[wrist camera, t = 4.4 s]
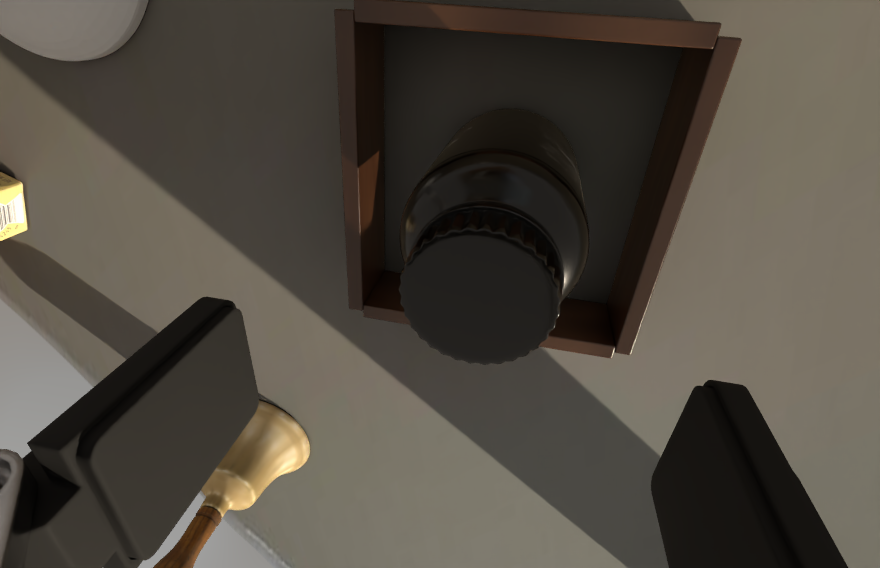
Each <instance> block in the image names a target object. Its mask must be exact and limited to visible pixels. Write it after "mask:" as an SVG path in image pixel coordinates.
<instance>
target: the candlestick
mask: <svg viewBox="0 0 880 568" xmlns="http://www.w3.org/2000/svg"><path fill="white" fill-rule="evenodd" d="M147 4H148V0H0V34H1V35H2V36H4V37H5V38H7V39H8V40H10V41H11V42H13V43H15V44H16V45H18V46H20V47H22V48H24V49H26V50H28V51H31V52H33V53H35V54H38V55H41V56H44V57H48V58H52V59H57V60H63V61H84V60H93V59H97V58H101V57H104V56H107V55H109V54H111V53H113V52H115V51H116V50H118V49H119V48H120V47H122V46H123V45H124V44H125V43H126V42H127V41H128V40H129V39H130V38H131V36H132V35H133V34H134V32H135V31H136V29H137V28H138V26H139V24H140V22H141V20H142V18H143V16H144V13H145V10H146V7H147Z"/></svg>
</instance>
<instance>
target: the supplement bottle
mask: <svg viewBox="0 0 880 568" xmlns="http://www.w3.org/2000/svg"><path fill="white" fill-rule="evenodd" d="M400 247H401V253H402V257H403V261H404V264H405V267H404V268H403V270H402V272H401V275H400V278H401V284H400V286H399V292H400V294H401V296H402V297H401V302H400V303H401V305H402V306H403V308H404V314H405V317H406V318H407V319H408V320H409V321H410V325H411V327H412V328H413V329H414V330H415V331H417V333H418V335H419V337H420V338H421V339H423V340H425V341H427V343H428V344H429V346H430V347H432V348H435V349H437V350H439V351H440V352H441V353H442V354H443V355H448V356H451V357H452V358H454V359H455V360H464V361H466V362H468V363H480V364H483V365H486V364H490V363H494V364H501V363H503V362H505V361H514V360H515V359H516V358H518V357H522V356H526V355H527V354H528V353H529V352H530V351H531V350H534V349H537V348H538V347H539V345H540V343H541V342H543V341H545V340H546V339H548V336H549V332H550V331H552V330H553V329H554V328H555V326H556V319H557V318H558V316H559V315H560V312H561V302H562V301H564V300H565V299H566V297H567V296H568V295H569V294H570V293H571V292H572V290H573V289H574V288H575V286H576V285H577V283H578V281H579V280H580V278H581V276H582V273H583V271H584V269H585V265H586V262H587V258H588V253H589V226H588V220H587V214H586V208H585V203H584V197H583V192H582V186H581V181H580V175H579V170H578V165H577V161H576V158H575V154H574V152H573V149H572V147H571V145H570V143H569V141H568V140H567V138H566V137H565V135H564V134H563V133H562V132H561V130H560V129H559V128H558V127H556V126H555V125H554V124H553V123H552V122H550V121H549V120H547V119H546V118H544V117H542V116H540V115H538V114H536V113H533V112H530V111H526V110H521V109H499V110H494V111H491V112H487V113H485V114H482V115H480V116H478V117H476V118H474V119H473V120H471V121H470V122H468V123H467V124H466V125H465V126H463V127H462V128H461V129H460V130H459V131H458V132H457V133H456V135H455V136H454V137H453V138H452V139H451V140H450V142H449V143H448V144H447V146H446V147H445V148H444V150H443V151H442V152H441V154H440V155H439V156H438V158H437V159H436V160H435V162H434V163H433V164H432V166H431V167H430V168H429V170H428V171H427V172H426V174H425V175H424V176H423V178H422V179H421V180H420V182H419V183H418V184H417V186H416V187H415V189H414V190H413V192H412V194H411V196H410V198H409V200H408V202H407V204H406V206H405V209H404V212H403V215H402V219H401V225H400Z"/></svg>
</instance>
